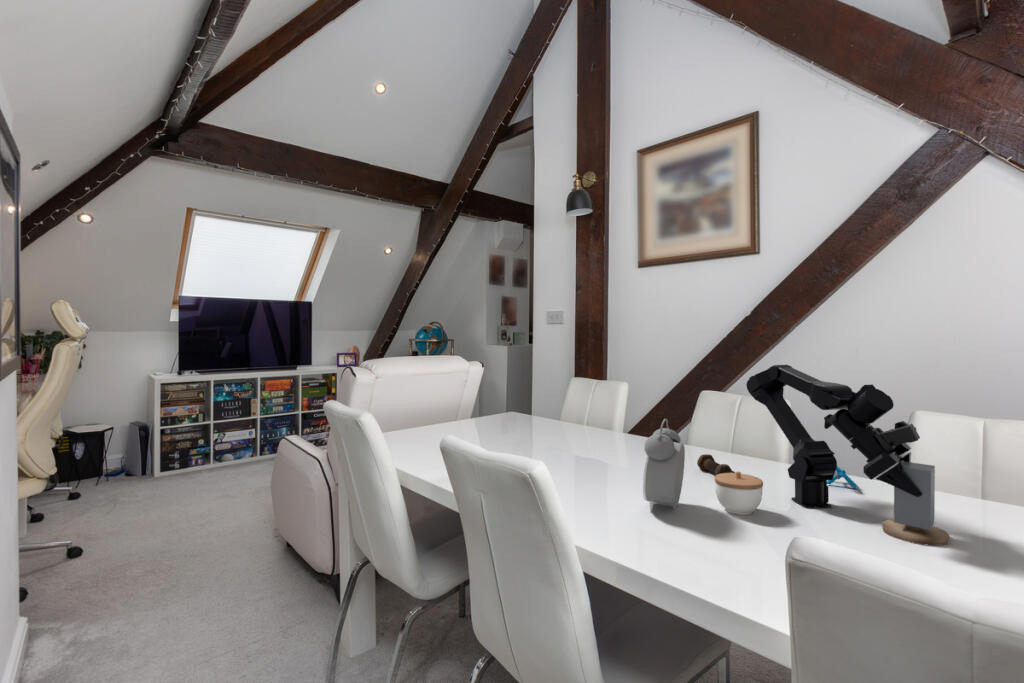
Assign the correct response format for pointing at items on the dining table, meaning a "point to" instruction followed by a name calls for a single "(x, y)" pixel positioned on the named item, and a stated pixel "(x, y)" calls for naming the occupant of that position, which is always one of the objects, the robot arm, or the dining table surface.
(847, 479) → the blue thin-armed part
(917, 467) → the block
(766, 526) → the dining table surface
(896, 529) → the stub base
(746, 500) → the lidded jar
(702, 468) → the bolt
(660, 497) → the alarm clock
